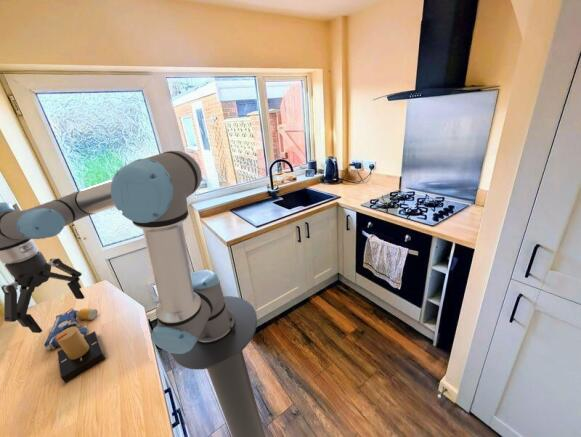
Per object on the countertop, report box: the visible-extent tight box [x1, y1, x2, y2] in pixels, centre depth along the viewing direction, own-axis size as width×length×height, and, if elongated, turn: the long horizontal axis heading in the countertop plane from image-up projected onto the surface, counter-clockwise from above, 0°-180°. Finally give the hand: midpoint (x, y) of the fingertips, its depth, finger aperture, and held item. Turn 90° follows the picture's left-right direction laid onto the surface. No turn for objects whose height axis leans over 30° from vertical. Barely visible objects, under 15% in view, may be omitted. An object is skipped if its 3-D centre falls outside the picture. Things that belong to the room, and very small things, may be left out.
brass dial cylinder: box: [56, 326, 89, 360], centre depth 82 cm, size 6×6×9 cm
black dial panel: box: [57, 330, 107, 384], centre depth 85 cm, size 14×11×3 cm
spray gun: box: [44, 308, 99, 351], centre depth 98 cm, size 21×4×15 cm
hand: (60, 313), depth 77 cm, fingers open, 13 cm apart
